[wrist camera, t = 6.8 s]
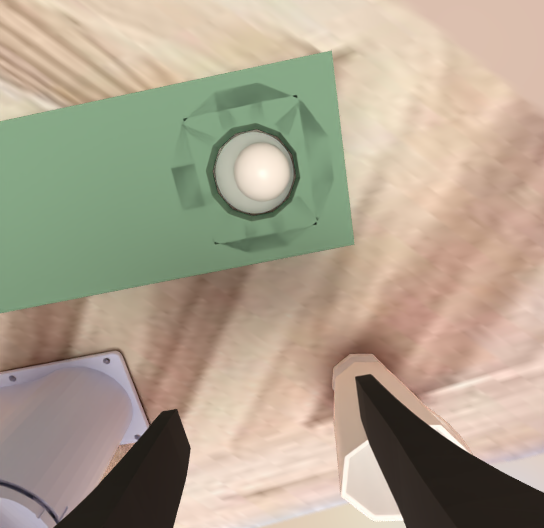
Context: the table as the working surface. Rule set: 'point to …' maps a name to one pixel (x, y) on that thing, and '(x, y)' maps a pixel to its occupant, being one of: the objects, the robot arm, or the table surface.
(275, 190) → the ball
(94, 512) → the robot arm
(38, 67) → the table surface
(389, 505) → the cup
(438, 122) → the table surface
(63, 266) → the putting strip
